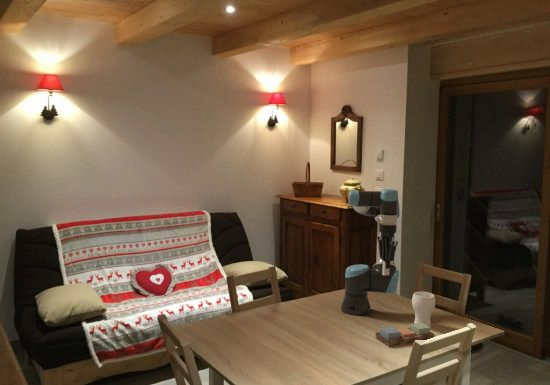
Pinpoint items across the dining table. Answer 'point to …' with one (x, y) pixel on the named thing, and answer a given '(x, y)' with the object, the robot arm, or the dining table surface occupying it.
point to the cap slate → (389, 333)
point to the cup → (423, 307)
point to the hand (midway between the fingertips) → (385, 274)
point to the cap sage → (420, 328)
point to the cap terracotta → (406, 332)
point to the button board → (403, 339)
